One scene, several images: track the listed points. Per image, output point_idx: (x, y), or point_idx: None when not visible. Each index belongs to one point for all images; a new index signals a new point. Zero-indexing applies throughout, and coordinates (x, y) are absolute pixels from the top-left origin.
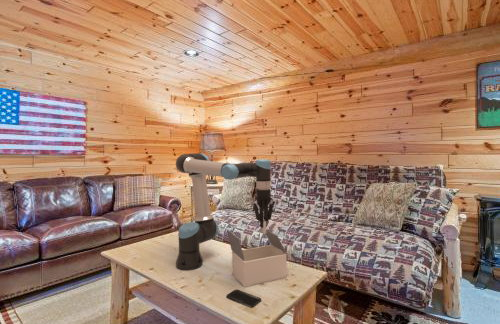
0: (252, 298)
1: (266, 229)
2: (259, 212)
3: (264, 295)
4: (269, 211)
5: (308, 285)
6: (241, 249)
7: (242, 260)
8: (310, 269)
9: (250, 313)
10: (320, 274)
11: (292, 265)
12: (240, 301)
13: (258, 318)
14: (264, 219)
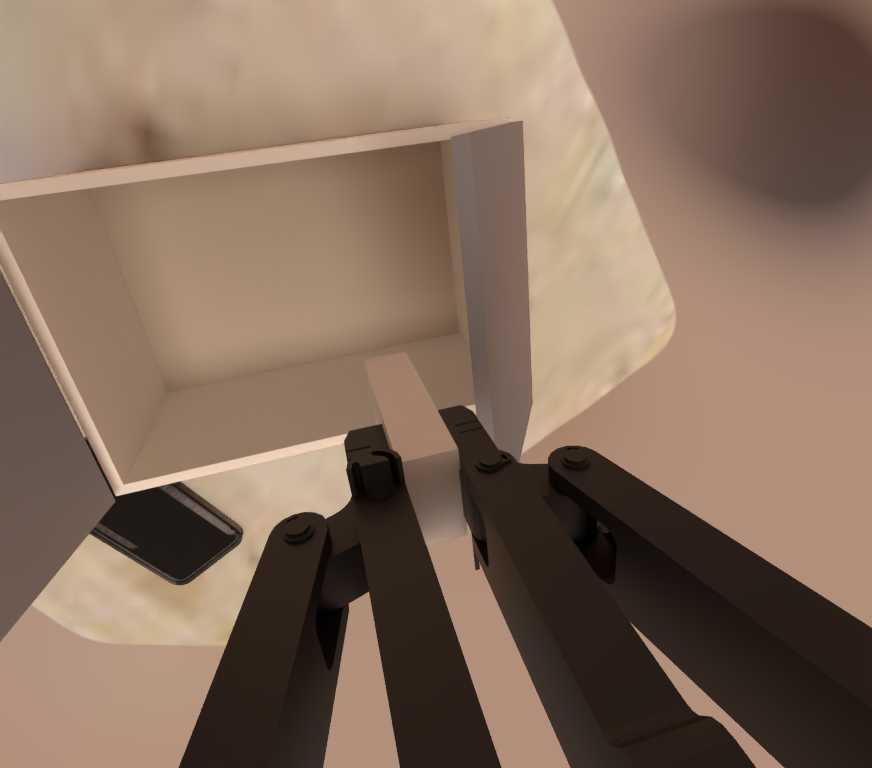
0: (195, 527)
1: (478, 290)
2: (380, 646)
3: (271, 495)
4: (678, 631)
5: (527, 441)
6: (38, 590)
7: (101, 456)
8: (650, 271)
9: (169, 612)
10: (654, 347)
11: (589, 173)
12: (122, 545)
13: (200, 640)
14: (467, 495)
